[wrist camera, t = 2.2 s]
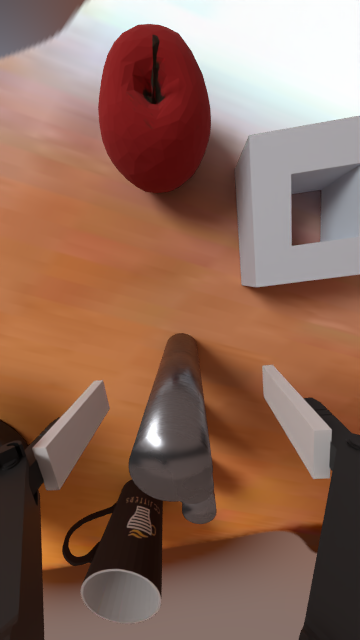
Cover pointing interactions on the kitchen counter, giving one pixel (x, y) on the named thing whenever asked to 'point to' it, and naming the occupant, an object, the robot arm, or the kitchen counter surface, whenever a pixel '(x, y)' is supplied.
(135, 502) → the coffee mug
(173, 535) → the kitchen counter surface
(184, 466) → the long pin
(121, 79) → the apple
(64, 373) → the kitchen counter surface
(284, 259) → the hole block
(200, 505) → the short pin
